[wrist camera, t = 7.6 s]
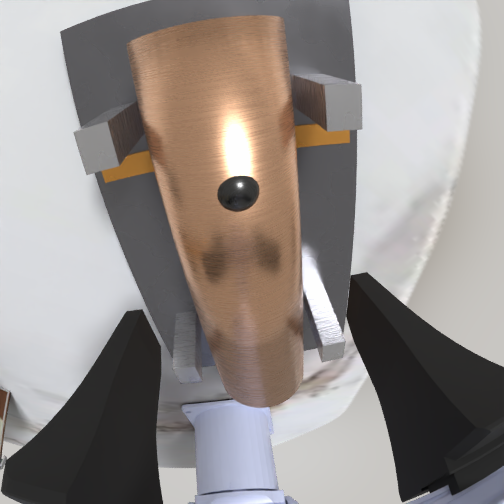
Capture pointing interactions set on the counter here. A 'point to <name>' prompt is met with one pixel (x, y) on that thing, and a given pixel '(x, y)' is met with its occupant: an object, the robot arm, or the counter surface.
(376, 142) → the counter surface
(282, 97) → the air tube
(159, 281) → the peg board tray
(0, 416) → the food container
